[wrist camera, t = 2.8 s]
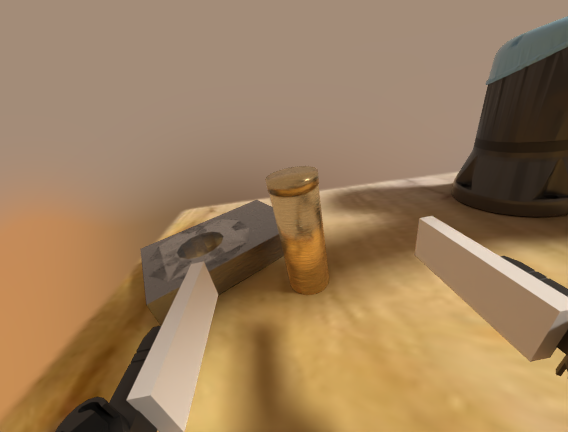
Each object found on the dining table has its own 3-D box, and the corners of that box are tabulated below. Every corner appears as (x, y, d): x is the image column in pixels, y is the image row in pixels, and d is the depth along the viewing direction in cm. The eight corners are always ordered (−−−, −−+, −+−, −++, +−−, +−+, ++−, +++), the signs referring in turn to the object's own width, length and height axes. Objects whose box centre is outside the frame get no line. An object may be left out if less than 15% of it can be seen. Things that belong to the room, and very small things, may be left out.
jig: (261, 216, 46) (256, 199, 44) (305, 242, 34) (302, 221, 32) (151, 267, 36) (140, 248, 34) (162, 328, 24) (146, 304, 23)
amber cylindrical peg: (310, 260, 30) (295, 164, 24) (338, 278, 26) (329, 169, 20) (281, 279, 28) (256, 178, 22) (307, 303, 24) (285, 187, 18)
